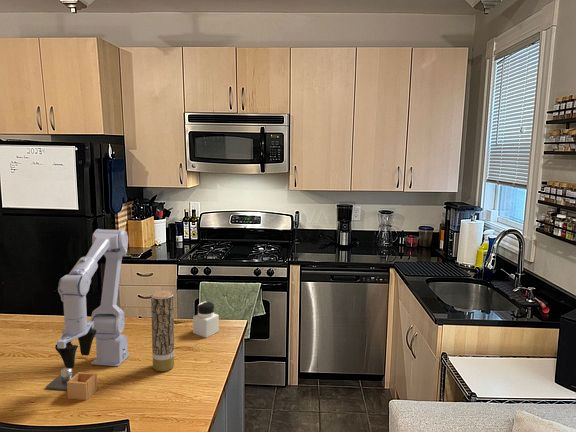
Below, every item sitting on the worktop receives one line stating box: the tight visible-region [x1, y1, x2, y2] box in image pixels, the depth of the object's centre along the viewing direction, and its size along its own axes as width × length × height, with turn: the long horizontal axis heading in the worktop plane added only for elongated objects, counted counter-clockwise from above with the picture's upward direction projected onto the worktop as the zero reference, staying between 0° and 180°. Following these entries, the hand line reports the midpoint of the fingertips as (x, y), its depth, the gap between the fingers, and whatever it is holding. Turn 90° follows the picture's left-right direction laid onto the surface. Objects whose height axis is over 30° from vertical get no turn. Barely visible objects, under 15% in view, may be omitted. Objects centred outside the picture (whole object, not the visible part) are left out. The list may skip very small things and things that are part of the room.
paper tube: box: [150, 289, 175, 372], centre depth 137 cm, size 7×7×25 cm
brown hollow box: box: [66, 371, 98, 401], centre depth 122 cm, size 6×6×5 cm
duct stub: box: [45, 366, 78, 391], centre depth 128 cm, size 8×8×4 cm
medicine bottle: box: [192, 301, 220, 338], centre depth 165 cm, size 7×7×12 cm
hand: (77, 361), depth 122 cm, fingers open, 7 cm apart
